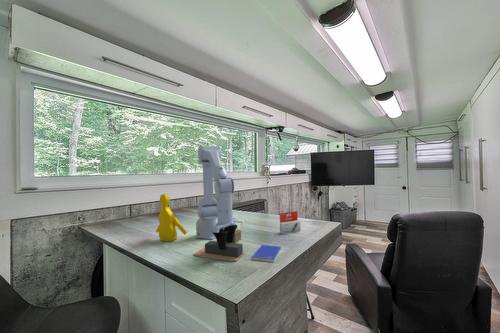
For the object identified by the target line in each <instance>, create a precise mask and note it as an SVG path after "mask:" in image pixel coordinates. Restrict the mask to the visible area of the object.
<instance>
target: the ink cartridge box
mask: <svg viewBox="0 0 500 333" xmlns="http://www.w3.org/2000/svg"><path fill="white" fill-rule="evenodd" d="M288 214H290V215H288ZM287 215H288V216H287ZM300 230H301V220H299V218H298V211H297V210H296V211H289V212H281V213H279V233H280V234H281V235H285V234H290V233H295V232H296V231H297V232H301V231H300Z"/></svg>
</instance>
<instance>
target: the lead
mask: <svg viewBox="0 0 500 333" xmlns="http://www.w3.org/2000/svg"><path fill="white" fill-rule="evenodd" d="M204 248H205V253H208V254H215V255H222V256H230V257H237V258H238V257H239V256H240V255H242V254H243V252H244V251H243V243H238V242H236V243H228V242H226V248H225V250H220V249H219V246H218V243H217V240H209V241H207V242H205V243H204Z"/></svg>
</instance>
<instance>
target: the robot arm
mask: <svg viewBox="0 0 500 333" xmlns="http://www.w3.org/2000/svg"><path fill="white" fill-rule="evenodd" d="M221 157H222V149H221V147H220V145H217V146H216V145H215V146H213V145H212V146H210V145H209V146H208V145H207V146H206V145H205V146H204V145H199V146H198V149H197V161H198V164H200V165H201V166H202V181H203V183H202V185H203V198H202V199H201V200H200V201H198V203H197V216H198V219H197V220H196V222H195V225H196V226H195V229H196V232H195V233H196V236H195V238H196V239H205V240H213V239H216V240H215V241H217V243H218V246H219V249H220V250H225V248H226V242H228V243H233V238H234V234H235V231H236V228H237V225H235V224H236V223H237V217H233V194H234V190H235V182H234V179H233V177H230V176H229V175H228V172H227V169H226V168H225V166H224V165H222V164H221V161H220V159H221ZM214 193H215V198H214Z"/></svg>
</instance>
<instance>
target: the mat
mask: <svg viewBox="0 0 500 333" xmlns="http://www.w3.org/2000/svg"><path fill="white" fill-rule="evenodd" d="M192 255H193V256H194V257H200V258H208V259H215V260H224V261H231V262H235V263H236V262H238V261H239V260H240V259H241V258H242V257H243V256H244V255H245V252H244V251H243V254H242V255H240V256H239V257H238V258H237V257H230V256H222V255H215V254H208V253H205V247H203V248H201V249H199V250H198V251H196V252H194V253H193V254H192Z"/></svg>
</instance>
